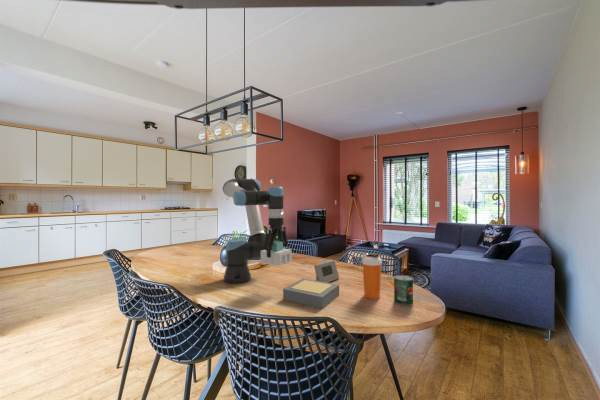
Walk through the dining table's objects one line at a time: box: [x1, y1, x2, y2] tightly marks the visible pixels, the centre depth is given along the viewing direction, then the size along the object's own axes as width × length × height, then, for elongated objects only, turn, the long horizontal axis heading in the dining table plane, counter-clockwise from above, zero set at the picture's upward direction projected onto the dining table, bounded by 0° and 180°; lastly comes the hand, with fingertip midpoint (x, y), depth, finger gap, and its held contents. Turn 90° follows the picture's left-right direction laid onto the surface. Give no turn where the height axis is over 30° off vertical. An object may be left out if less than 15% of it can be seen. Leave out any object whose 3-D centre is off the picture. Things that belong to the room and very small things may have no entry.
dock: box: [282, 277, 340, 310], centre depth 126 cm, size 20×18×5 cm
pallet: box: [260, 248, 293, 267], centre depth 137 cm, size 12×10×6 cm
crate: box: [269, 240, 283, 252], centre depth 137 cm, size 5×5×4 cm
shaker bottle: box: [361, 252, 383, 300], centre depth 127 cm, size 9×9×20 cm
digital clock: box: [314, 259, 340, 283], centre depth 150 cm, size 16×9×11 cm, turn 122°
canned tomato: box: [393, 274, 414, 307], centre depth 120 cm, size 8×8×11 cm
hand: (276, 261), depth 137 cm, fingers closed on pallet, 10 cm apart
